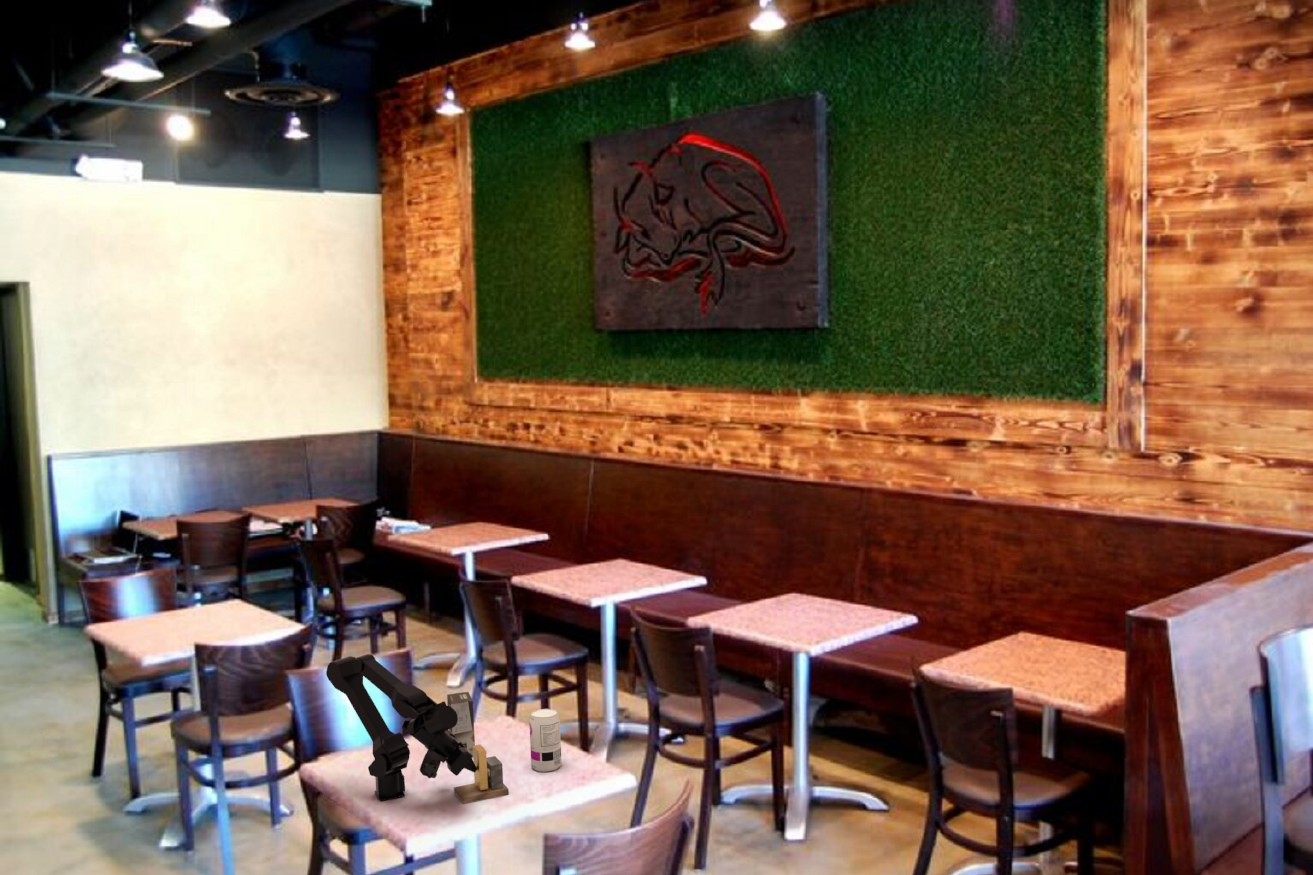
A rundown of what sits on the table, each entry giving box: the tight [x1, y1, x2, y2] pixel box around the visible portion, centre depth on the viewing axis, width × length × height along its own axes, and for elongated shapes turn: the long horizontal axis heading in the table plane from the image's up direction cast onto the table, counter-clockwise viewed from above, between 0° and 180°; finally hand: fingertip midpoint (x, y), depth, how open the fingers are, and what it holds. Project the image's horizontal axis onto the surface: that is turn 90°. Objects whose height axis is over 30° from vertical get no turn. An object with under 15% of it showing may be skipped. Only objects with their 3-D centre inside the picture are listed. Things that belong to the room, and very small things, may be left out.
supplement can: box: [528, 708, 562, 773], centre depth 322 cm, size 8×8×15 cm
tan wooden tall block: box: [472, 744, 490, 791], centre depth 306 cm, size 6×5×10 cm
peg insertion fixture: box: [453, 755, 510, 804], centre depth 305 cm, size 12×8×8 cm, turn 115°
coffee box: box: [446, 691, 476, 758], centre depth 334 cm, size 9×6×16 cm
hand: (475, 770), depth 304 cm, fingers closed
